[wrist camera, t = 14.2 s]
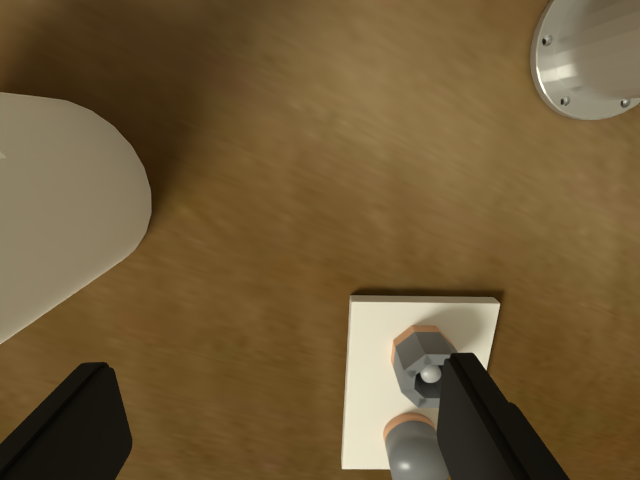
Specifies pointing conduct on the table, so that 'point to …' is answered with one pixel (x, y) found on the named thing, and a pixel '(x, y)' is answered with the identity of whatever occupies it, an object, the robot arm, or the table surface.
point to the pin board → (382, 386)
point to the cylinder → (62, 204)
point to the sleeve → (420, 363)
